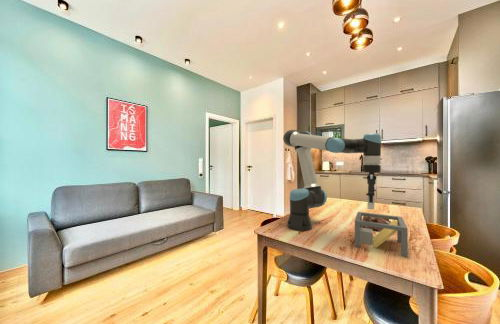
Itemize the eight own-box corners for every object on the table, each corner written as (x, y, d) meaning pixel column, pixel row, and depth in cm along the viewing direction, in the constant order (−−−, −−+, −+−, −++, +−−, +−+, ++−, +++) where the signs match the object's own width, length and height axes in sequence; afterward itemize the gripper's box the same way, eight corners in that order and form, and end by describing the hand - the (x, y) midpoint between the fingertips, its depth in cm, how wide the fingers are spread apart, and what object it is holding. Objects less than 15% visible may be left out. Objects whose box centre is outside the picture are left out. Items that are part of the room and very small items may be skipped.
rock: (355, 210, 126) (379, 206, 125) (357, 226, 127) (381, 223, 126) (368, 219, 111) (395, 215, 110) (371, 237, 112) (398, 233, 111)
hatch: (375, 248, 93) (373, 246, 93) (375, 238, 104) (373, 237, 105) (399, 229, 88) (396, 227, 88) (396, 221, 100) (394, 219, 100)
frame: (354, 246, 95) (354, 220, 95) (357, 233, 111) (357, 211, 111) (407, 257, 84) (407, 228, 84) (402, 241, 101) (402, 216, 101)
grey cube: (372, 244, 97) (358, 242, 100) (372, 240, 102) (359, 238, 105) (372, 232, 97) (358, 230, 100) (372, 229, 102) (359, 227, 105)
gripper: (381, 165, 87) (380, 213, 87) (380, 164, 108) (379, 202, 108) (361, 165, 91) (361, 210, 91) (364, 163, 112) (363, 200, 112)
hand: (371, 206), depth 100 cm, fingers open, 13 cm apart
